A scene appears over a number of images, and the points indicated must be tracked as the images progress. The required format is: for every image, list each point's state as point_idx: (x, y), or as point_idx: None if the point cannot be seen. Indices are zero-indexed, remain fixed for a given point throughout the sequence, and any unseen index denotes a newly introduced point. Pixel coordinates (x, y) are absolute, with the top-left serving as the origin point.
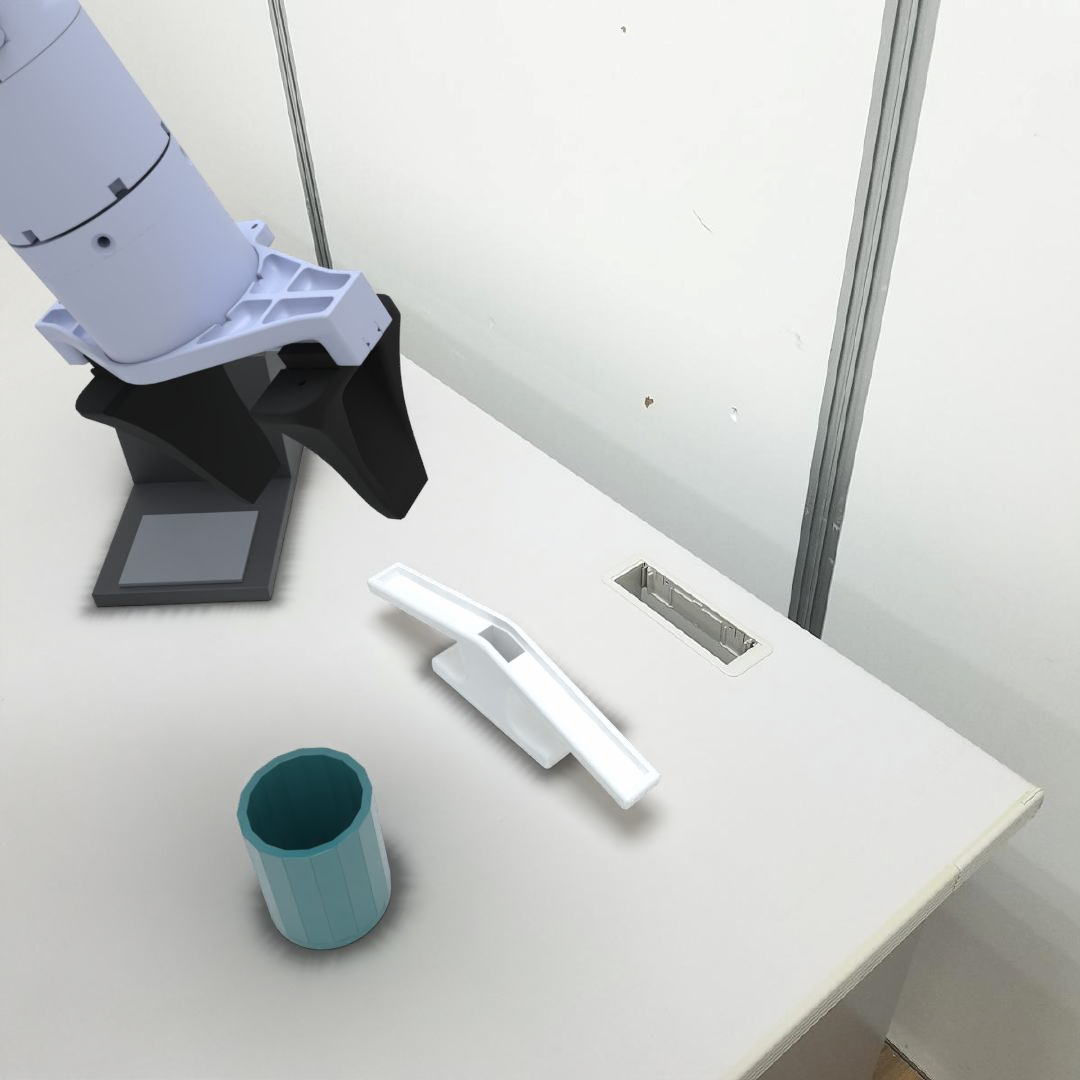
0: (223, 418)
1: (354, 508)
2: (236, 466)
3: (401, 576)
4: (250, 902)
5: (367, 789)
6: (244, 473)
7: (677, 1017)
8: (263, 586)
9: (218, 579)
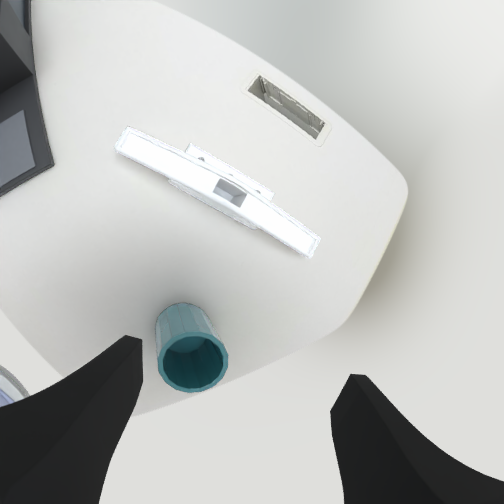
0: (101, 418)
1: (74, 76)
2: (127, 402)
3: (132, 135)
4: (151, 345)
5: (220, 345)
6: (132, 392)
7: (327, 317)
8: (48, 164)
9: (23, 172)
